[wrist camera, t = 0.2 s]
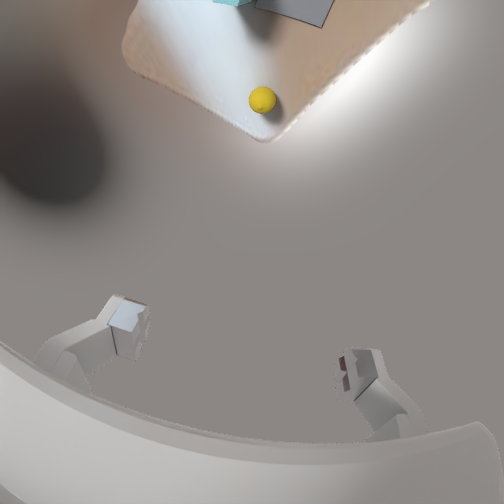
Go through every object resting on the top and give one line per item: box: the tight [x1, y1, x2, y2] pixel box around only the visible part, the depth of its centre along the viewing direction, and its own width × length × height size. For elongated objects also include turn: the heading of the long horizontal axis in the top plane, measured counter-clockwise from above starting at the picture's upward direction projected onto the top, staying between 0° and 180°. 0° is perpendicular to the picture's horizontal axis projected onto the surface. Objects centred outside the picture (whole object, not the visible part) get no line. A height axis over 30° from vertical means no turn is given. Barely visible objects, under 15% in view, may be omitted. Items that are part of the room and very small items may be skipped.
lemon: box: [249, 87, 276, 114], centre depth 50 cm, size 6×6×8 cm
